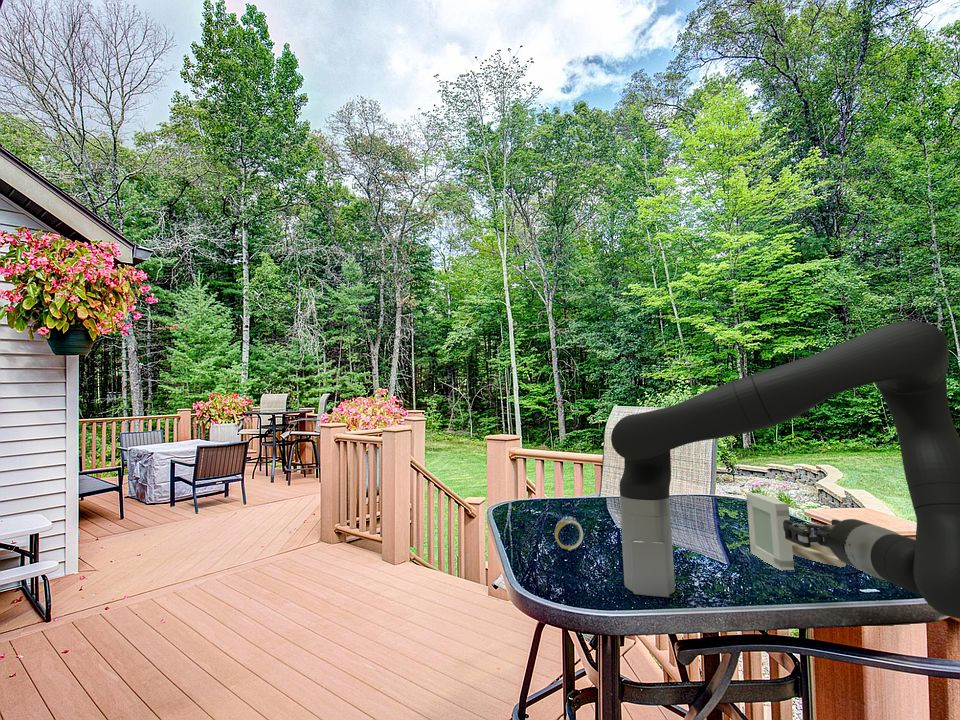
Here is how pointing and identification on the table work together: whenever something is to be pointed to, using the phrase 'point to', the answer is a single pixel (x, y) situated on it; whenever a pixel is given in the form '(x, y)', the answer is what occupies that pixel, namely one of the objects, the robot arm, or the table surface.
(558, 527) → the bracelet
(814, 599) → the table surface
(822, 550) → the ledge
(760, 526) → the frame
